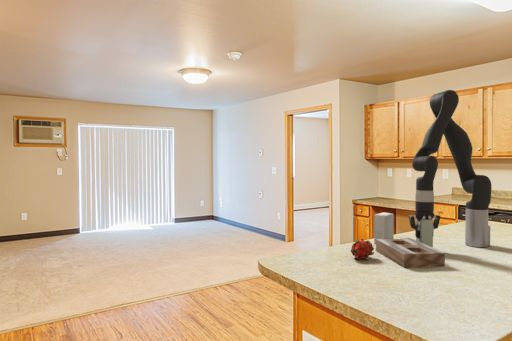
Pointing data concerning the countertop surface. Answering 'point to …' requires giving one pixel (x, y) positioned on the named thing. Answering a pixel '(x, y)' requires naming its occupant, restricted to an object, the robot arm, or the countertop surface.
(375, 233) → the skincare box
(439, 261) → the block
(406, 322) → the countertop surface
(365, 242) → the dragon fruit
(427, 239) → the square peg
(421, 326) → the countertop surface
